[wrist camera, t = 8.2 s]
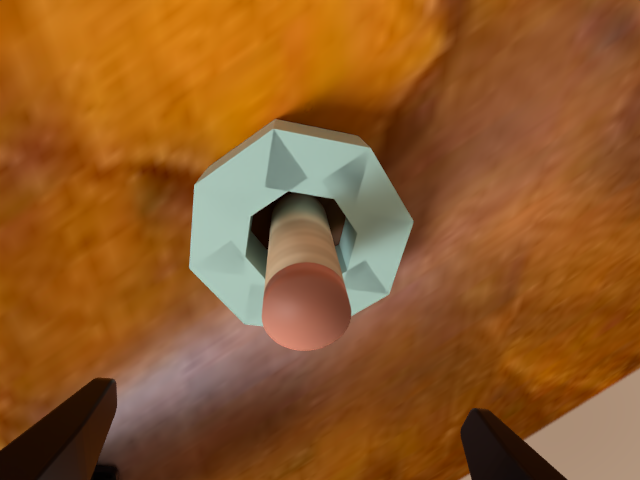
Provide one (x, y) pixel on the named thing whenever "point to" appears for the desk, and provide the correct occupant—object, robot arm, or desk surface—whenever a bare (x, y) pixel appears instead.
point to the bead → (301, 177)
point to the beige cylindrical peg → (303, 277)
